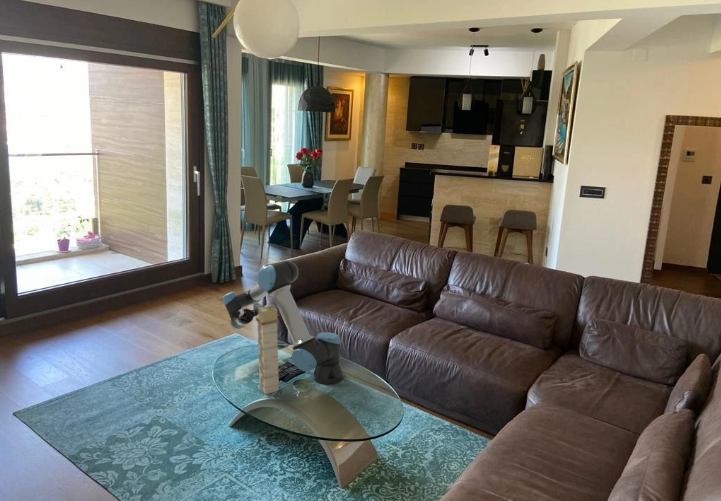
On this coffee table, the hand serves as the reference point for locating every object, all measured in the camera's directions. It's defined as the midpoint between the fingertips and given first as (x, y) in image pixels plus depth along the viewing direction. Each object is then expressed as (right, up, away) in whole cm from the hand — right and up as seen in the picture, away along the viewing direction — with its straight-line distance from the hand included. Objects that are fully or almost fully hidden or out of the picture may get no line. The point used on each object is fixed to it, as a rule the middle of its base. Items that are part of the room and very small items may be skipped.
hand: (256, 308), depth 264 cm
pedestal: (+6, -39, -1) cm, 39 cm away
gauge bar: (+4, -2, -6) cm, 7 cm away
